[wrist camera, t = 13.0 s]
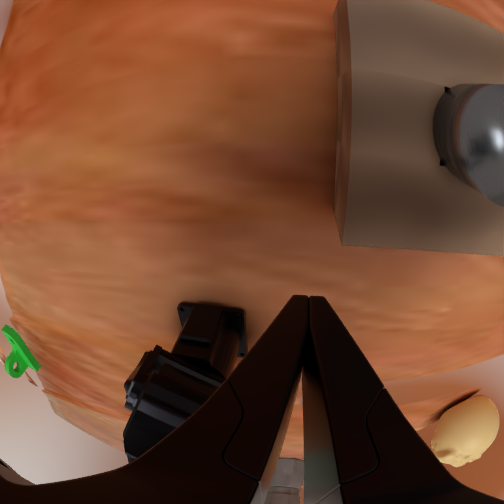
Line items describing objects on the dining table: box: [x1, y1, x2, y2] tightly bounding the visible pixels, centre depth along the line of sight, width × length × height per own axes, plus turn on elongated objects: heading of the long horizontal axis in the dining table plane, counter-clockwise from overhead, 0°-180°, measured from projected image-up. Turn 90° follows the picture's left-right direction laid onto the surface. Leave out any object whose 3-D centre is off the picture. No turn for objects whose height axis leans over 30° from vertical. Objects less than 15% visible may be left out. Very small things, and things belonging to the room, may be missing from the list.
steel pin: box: [433, 84, 504, 206], centre depth 10 cm, size 5×5×8 cm
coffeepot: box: [264, 458, 304, 504], centre depth 40 cm, size 15×9×18 cm, turn 32°
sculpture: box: [431, 395, 499, 467], centre depth 26 cm, size 12×12×11 cm
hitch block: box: [333, 0, 504, 256], centre depth 12 cm, size 14×14×6 cm
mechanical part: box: [2, 325, 41, 378], centre depth 43 cm, size 12×6×8 cm, turn 0°
